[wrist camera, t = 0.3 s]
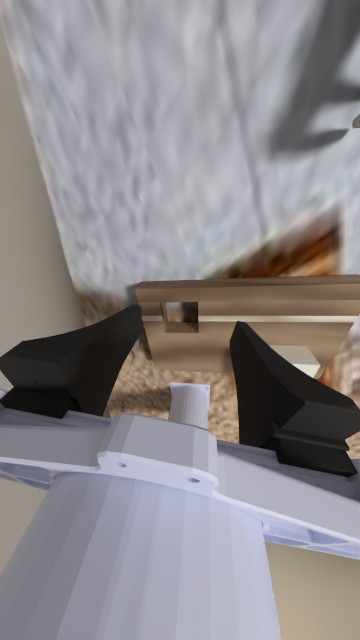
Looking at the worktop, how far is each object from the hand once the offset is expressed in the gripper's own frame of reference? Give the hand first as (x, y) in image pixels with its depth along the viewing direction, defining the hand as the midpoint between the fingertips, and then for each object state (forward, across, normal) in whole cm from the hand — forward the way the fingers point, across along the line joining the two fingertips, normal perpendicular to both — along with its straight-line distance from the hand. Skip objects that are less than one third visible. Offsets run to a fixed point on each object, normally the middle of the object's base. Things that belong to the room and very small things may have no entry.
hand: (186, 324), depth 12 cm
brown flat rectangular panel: (+9, -6, +6) cm, 13 cm away
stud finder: (+7, -12, +8) cm, 16 cm away
